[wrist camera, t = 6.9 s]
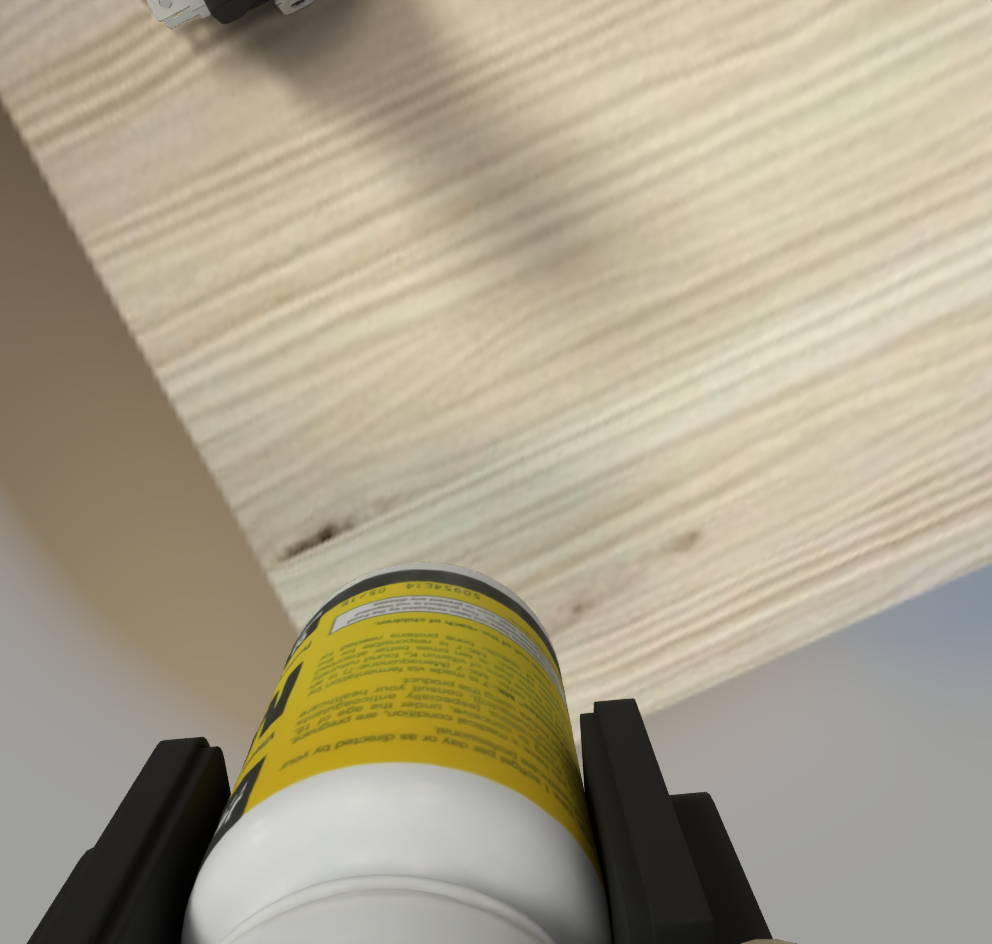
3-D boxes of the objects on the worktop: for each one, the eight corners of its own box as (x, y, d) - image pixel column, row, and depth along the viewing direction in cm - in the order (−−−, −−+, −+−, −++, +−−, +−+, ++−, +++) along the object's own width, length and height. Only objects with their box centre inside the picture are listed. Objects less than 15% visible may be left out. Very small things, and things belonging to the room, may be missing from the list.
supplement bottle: (279, 557, 14) (40, 962, 6) (560, 551, 15) (678, 941, 6) (299, 805, 16) (121, 1408, 8) (558, 797, 16) (654, 1383, 8)
